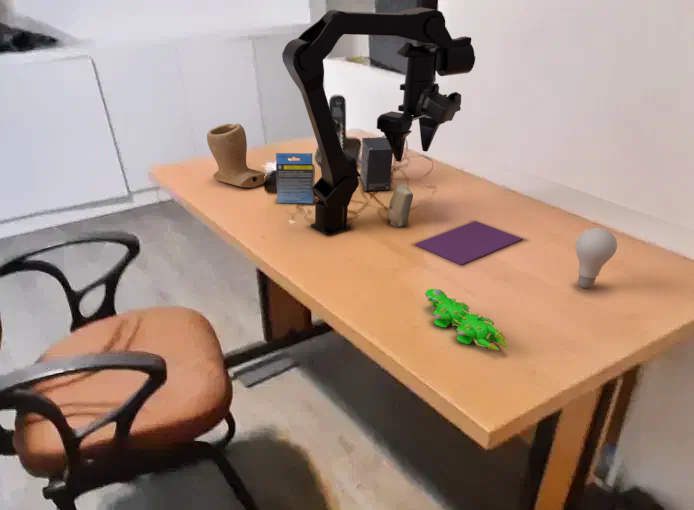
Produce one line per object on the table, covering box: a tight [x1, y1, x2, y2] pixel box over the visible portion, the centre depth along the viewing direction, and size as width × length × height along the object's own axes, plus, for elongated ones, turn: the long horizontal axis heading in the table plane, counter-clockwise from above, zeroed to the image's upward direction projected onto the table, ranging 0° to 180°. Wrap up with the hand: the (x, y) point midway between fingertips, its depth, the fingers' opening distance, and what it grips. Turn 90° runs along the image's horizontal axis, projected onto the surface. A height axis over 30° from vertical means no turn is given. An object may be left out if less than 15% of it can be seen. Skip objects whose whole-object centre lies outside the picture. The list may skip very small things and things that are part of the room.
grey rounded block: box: [387, 183, 414, 228], centre depth 136 cm, size 6×5×8 cm
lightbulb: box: [574, 227, 618, 289], centre depth 107 cm, size 6×6×11 cm
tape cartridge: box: [275, 152, 316, 205], centre depth 150 cm, size 9×4×12 cm, turn 76°
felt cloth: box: [414, 220, 524, 266], centre depth 128 cm, size 18×12×1 cm, turn 122°
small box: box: [359, 136, 394, 192], centre depth 156 cm, size 11×6×10 cm, turn 179°
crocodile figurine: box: [424, 288, 509, 351], centre depth 100 cm, size 7×18×4 cm, turn 24°
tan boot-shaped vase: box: [206, 123, 267, 188], centre depth 162 cm, size 15×12×15 cm
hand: (412, 156), depth 134 cm, fingers open, 9 cm apart
